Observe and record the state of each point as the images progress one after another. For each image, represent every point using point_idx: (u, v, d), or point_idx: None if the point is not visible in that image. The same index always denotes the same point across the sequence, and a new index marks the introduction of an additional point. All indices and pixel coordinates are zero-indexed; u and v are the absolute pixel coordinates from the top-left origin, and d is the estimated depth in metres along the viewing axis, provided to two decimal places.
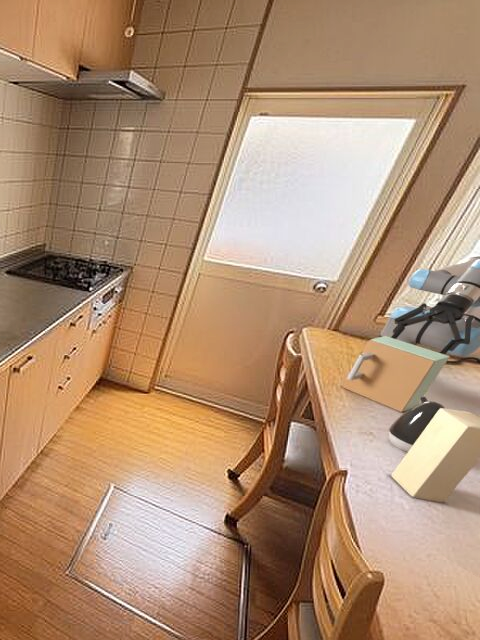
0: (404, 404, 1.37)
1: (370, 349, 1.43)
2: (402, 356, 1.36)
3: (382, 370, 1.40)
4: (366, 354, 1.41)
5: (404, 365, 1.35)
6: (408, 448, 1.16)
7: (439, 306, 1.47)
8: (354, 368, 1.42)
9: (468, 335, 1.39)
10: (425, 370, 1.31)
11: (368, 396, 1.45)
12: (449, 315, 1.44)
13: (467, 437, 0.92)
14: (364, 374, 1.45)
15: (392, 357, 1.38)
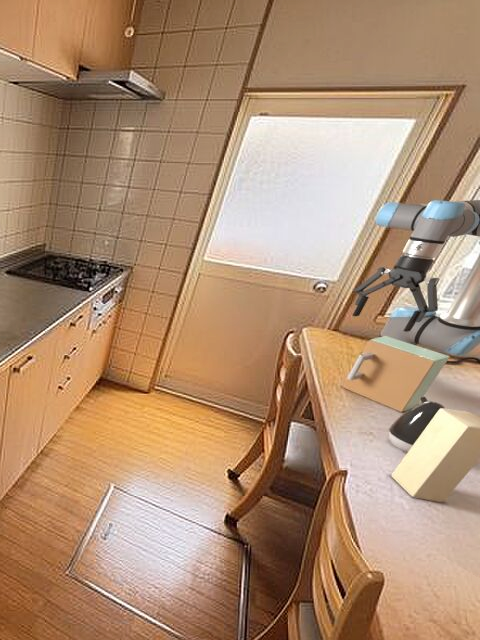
0: (404, 404, 1.37)
1: (370, 349, 1.43)
2: (402, 356, 1.36)
3: (382, 370, 1.40)
4: (366, 354, 1.41)
5: (404, 365, 1.35)
6: (408, 448, 1.16)
7: (397, 269, 1.28)
8: (354, 368, 1.42)
9: (431, 304, 1.22)
10: (425, 370, 1.31)
11: (368, 396, 1.45)
12: (408, 281, 1.26)
13: (467, 437, 0.92)
14: (364, 374, 1.45)
15: (392, 357, 1.38)
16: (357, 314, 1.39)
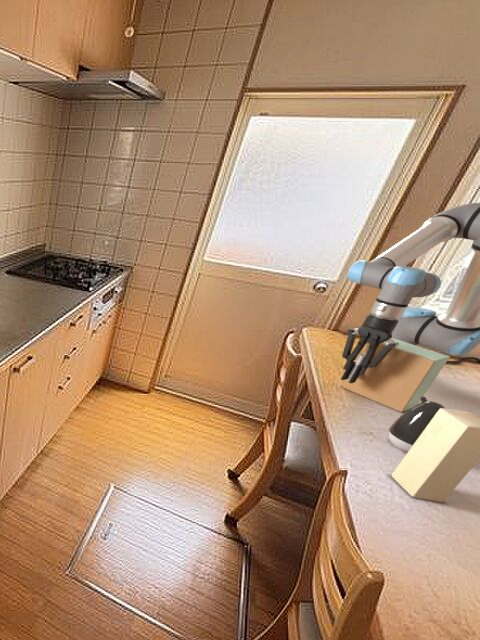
0: (404, 404, 1.37)
1: None
2: (402, 356, 1.36)
3: (382, 370, 1.40)
4: None
5: (404, 365, 1.35)
6: (408, 448, 1.16)
7: (365, 327, 1.37)
8: (354, 368, 1.42)
9: (375, 362, 1.36)
10: (425, 370, 1.31)
11: (368, 396, 1.45)
12: (373, 339, 1.35)
13: (467, 437, 0.92)
14: (364, 374, 1.45)
15: (392, 357, 1.38)
16: (345, 378, 1.44)
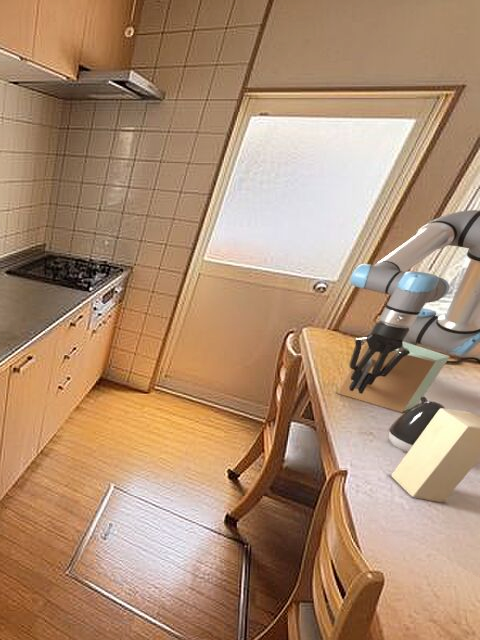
0: (405, 404, 1.36)
1: None
2: (401, 359, 1.34)
3: None
4: (368, 361, 1.36)
5: (404, 367, 1.34)
6: (408, 448, 1.16)
7: (376, 336, 1.29)
8: (362, 377, 1.36)
9: (388, 370, 1.30)
10: (426, 371, 1.31)
11: (366, 400, 1.42)
12: (387, 348, 1.28)
13: (467, 437, 0.92)
14: None
15: None
16: None
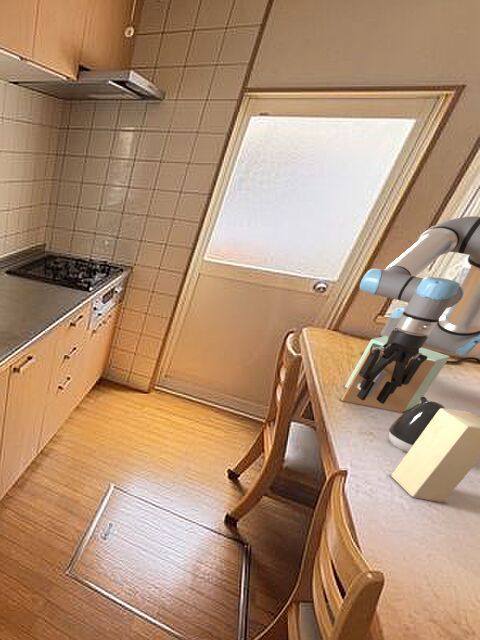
0: (406, 405, 1.36)
1: None
2: None
3: (384, 377, 1.35)
4: None
5: None
6: (408, 448, 1.16)
7: (395, 345, 1.23)
8: (376, 385, 1.31)
9: (409, 378, 1.26)
10: (427, 371, 1.31)
11: (369, 404, 1.40)
12: (406, 357, 1.23)
13: (467, 437, 0.92)
14: None
15: (394, 364, 1.33)
16: None
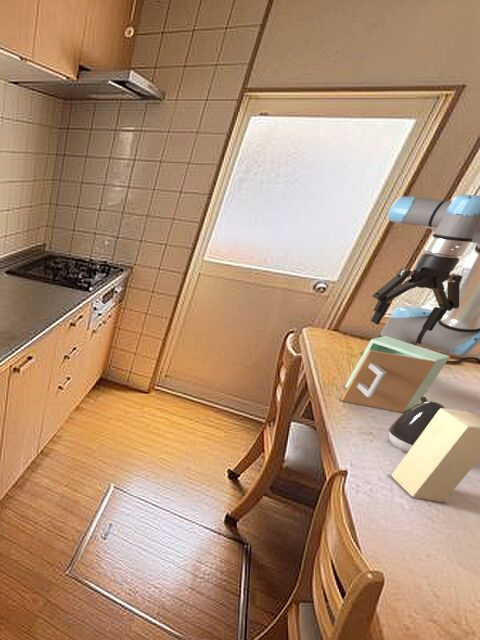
0: (406, 405, 1.36)
1: (371, 360, 1.34)
2: (404, 362, 1.31)
3: (384, 377, 1.35)
4: (378, 367, 1.32)
5: (406, 370, 1.32)
6: (408, 448, 1.16)
7: (424, 270, 1.18)
8: (376, 385, 1.31)
9: (457, 301, 1.19)
10: (427, 371, 1.31)
11: (369, 404, 1.40)
12: (438, 282, 1.18)
13: (467, 437, 0.92)
14: (365, 384, 1.38)
15: (394, 364, 1.33)
16: None
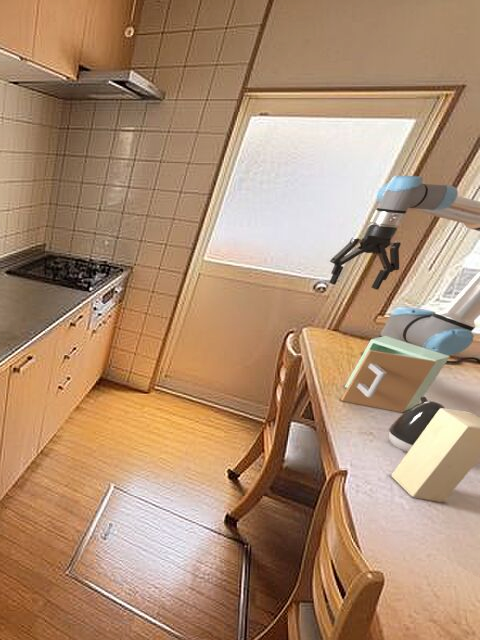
0: (406, 405, 1.36)
1: (371, 360, 1.34)
2: (404, 362, 1.31)
3: (384, 377, 1.35)
4: (378, 367, 1.32)
5: (406, 370, 1.32)
6: (408, 448, 1.16)
7: (370, 238, 1.44)
8: (376, 385, 1.31)
9: (397, 264, 1.45)
10: (427, 371, 1.31)
11: (369, 404, 1.40)
12: (381, 248, 1.44)
13: (467, 437, 0.92)
14: (365, 384, 1.38)
15: (394, 364, 1.33)
16: None
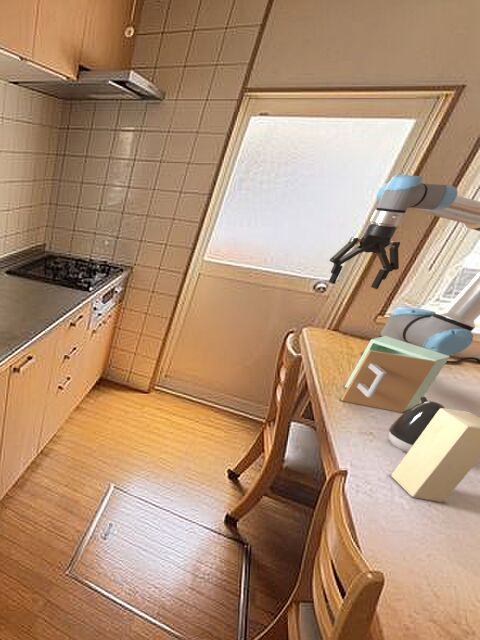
0: (406, 405, 1.36)
1: (371, 360, 1.34)
2: (404, 362, 1.31)
3: (384, 377, 1.35)
4: (378, 367, 1.32)
5: (406, 370, 1.32)
6: (408, 448, 1.16)
7: (369, 238, 1.44)
8: (376, 385, 1.31)
9: (397, 263, 1.46)
10: (427, 371, 1.31)
11: (369, 404, 1.40)
12: (381, 247, 1.44)
13: (467, 437, 0.92)
14: (365, 384, 1.38)
15: (394, 364, 1.33)
16: None
